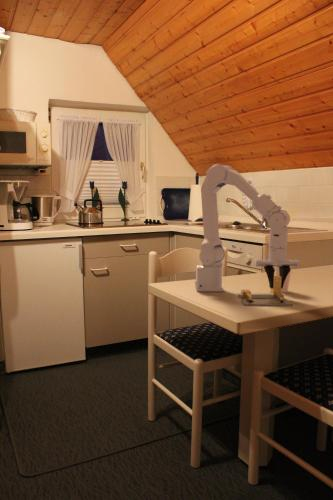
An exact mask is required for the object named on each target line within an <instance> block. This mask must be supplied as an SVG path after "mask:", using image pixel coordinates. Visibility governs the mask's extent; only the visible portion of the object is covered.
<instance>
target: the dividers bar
mask: <svg viewBox="0 0 333 500" xmlns="http://www.w3.org/2000/svg"><path fill="white" fill-rule="evenodd" d="M281 295H282V296H283V297H284V298H285V295H284V294H283V293H281ZM237 298H238V299H249V301H252V299H280V298H279V297H278V296H277V295H272V294H271V293H258V292H257V293H254V292H253V293H252V291H251V290H250V289H240V293H239V292H238V293H237Z"/></svg>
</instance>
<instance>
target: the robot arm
mask: <svg viewBox="0 0 333 500" xmlns="http://www.w3.org/2000/svg"><path fill="white" fill-rule="evenodd" d="M226 185H230V186H234V187H236V188H237V189H238V190H239V191H240V192H241V193H242V194H244V195H245V196H246V197H247V198H248V199H250V201H251V202H252V203H251V204H252V208H254V209H255V210H256V212H258V214H260V215H261V216H262V217H263V218H264V219H265V220H267V224H268V226H269V237H268V238H269V241H268V244H269V245H268V259H254V267H256V268H257V267H263V268H264V271H265V273H266V277H267V280H268V284H269V288H270V289H271V288H273V286H274V276H275V267H274V266H279V276H281V277H282V280H281V289H283V285H284V282H285V279H286V277H287V275H288V274H289V272H290V270H291V271H292V269H291V268H290V266H293V267H296V268H300V267H301V261H300V260H298V259H287V255H288V254H287V253H288V252H287V251H288V237H289V236H288V229H289V227H288V226H289V223H290V221H291V216H290V214H289V213H288V212H287V210H285V209H282V208H283V207H281V205H278V204H276V203H275V202H274V201H273V200H272V196H270V194H266V193H259V192H258V191H257V190H256V189H255V188H254V186H252V185H251V184H250V183H249V182H248V180H246V179H245V178H244V177H243V175H242V174H241V173H240V172H238V171H237V170H236V169H234V168H233V167H232V166H231V165H227V164H224V165H223V164H220V163H215V164H213V165H211V166H210V167H209V168H208V169H207V170H206V171H205V177H204V180H203V182H202V185H201V186H200V187H201V188H200V194H201V196H200V197H201V209H202V227H203V228H202V229H203V241H202V242H201V245H200V252H199V256H198V257H199V260H200V262H201V264H197V265H196V266H195V281H194V283H195V284H194V287H195V289H196V291H197V292H225V289H224V287H223V284H222V283H223V260H224V259H225V257H226V251H225V249H224V246H223V242H222V240H221V238H220V231H219V230H220V229H219V214H218V197H217V194H218V192H219V191H220V190H221V189H222V188H223V187H224V186H226ZM274 264H277V265H274Z"/></svg>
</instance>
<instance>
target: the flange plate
mask: <svg viewBox="0 0 333 500" xmlns="http://www.w3.org/2000/svg"><path fill="white" fill-rule="evenodd" d="M240 302H241V304H242V305H243V307H244V306H245V307H251V306H252V307H253V306H254V307H259V306H260V307H261V306H262V307H263V306H264V307H266V306H267V307H270V306H271V307H272V306H273V307H274V306H275V307H279V306H280V307H282V306H283V307H292V306H293V303H291V301H290V300H288V299H287V298H286V299H285V298H284V299H283V301H280V299H252V301H249V299H242V298H240Z"/></svg>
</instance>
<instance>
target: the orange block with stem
mask: <svg viewBox="0 0 333 500" xmlns="http://www.w3.org/2000/svg"><path fill="white" fill-rule="evenodd" d="M281 280H282V277H281V276H276V275H274V286H273V288H270V291H269V292H270V293H269V294H272V295H277V296H278V297H279V298H280V301H283V299H285V296H284V297H283V296H282V295H281V294H282V292H281V291H282V290H281Z"/></svg>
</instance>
